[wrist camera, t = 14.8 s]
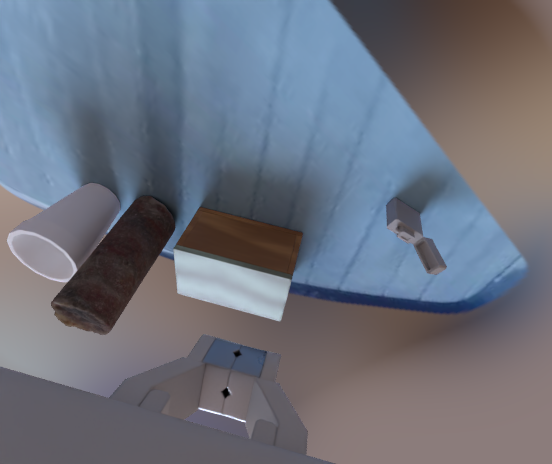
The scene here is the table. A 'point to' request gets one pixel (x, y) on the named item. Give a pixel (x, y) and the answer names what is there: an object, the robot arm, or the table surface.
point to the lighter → (413, 234)
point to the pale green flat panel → (231, 282)
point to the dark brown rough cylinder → (115, 268)
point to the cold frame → (243, 240)
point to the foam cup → (65, 232)
